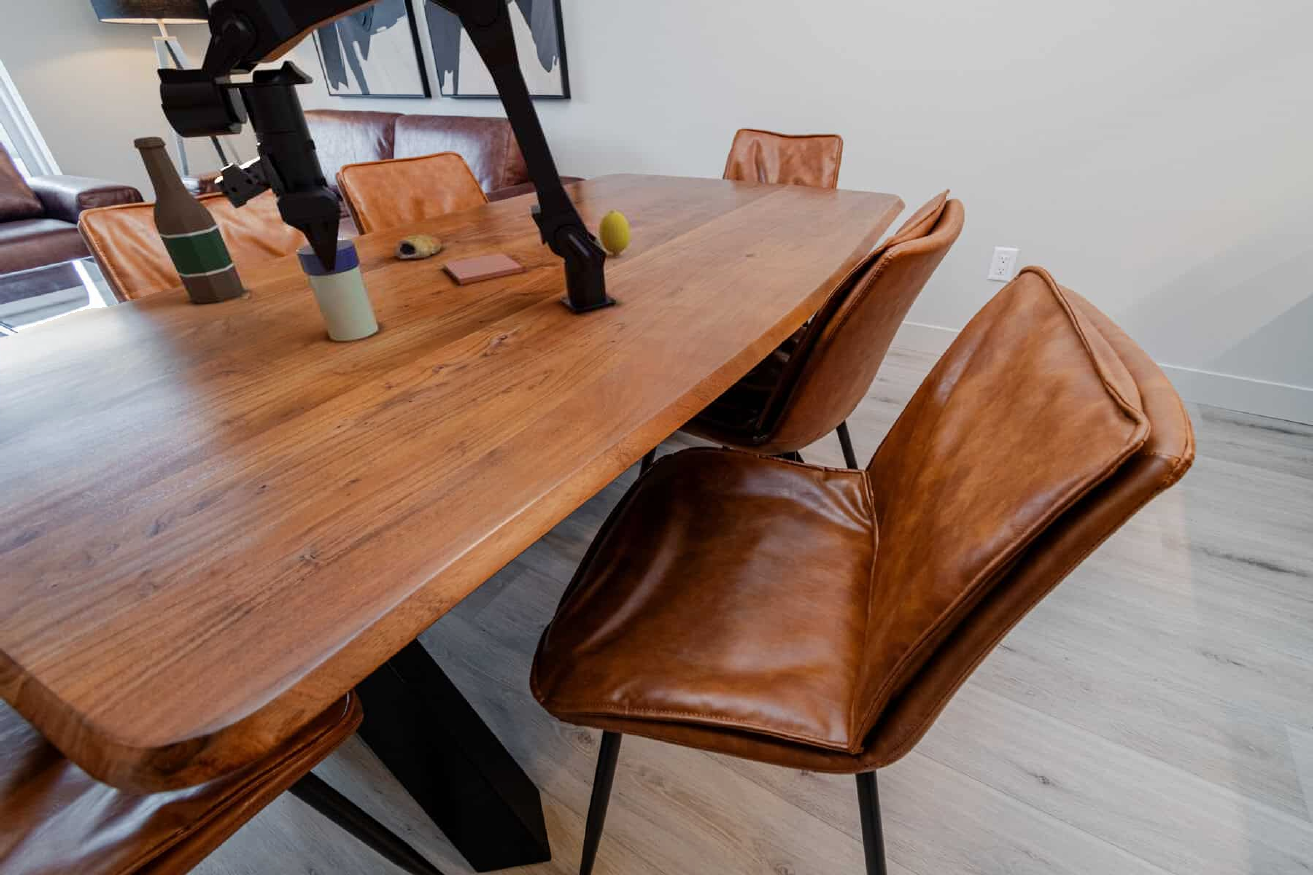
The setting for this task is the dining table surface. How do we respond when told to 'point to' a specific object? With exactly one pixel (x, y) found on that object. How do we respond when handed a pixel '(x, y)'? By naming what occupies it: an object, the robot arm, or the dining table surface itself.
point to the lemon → (614, 232)
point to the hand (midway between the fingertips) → (327, 264)
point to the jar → (344, 304)
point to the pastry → (417, 246)
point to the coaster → (482, 268)
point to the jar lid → (344, 258)
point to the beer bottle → (188, 230)
